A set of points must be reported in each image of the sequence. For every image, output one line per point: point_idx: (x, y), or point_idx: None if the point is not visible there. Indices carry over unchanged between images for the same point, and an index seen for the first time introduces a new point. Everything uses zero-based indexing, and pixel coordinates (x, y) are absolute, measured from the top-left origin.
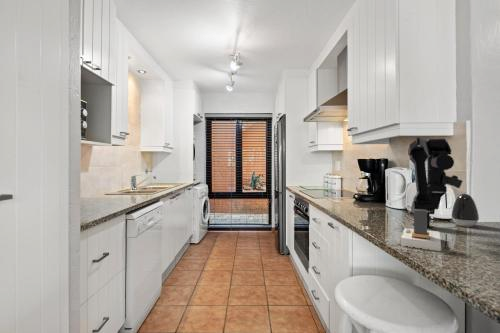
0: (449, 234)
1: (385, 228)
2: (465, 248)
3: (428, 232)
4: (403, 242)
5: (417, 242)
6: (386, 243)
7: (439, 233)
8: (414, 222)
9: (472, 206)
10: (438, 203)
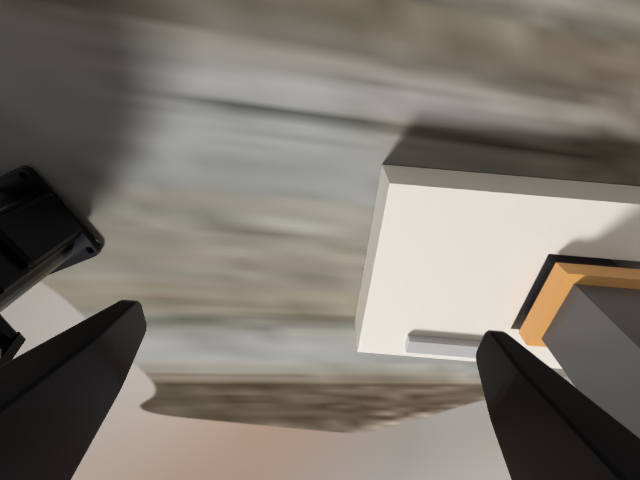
0: (187, 74)
1: (240, 380)
2: (605, 23)
3: (576, 277)
4: None
5: None
6: None
7: (451, 189)
8: None
9: None
10: (599, 423)
